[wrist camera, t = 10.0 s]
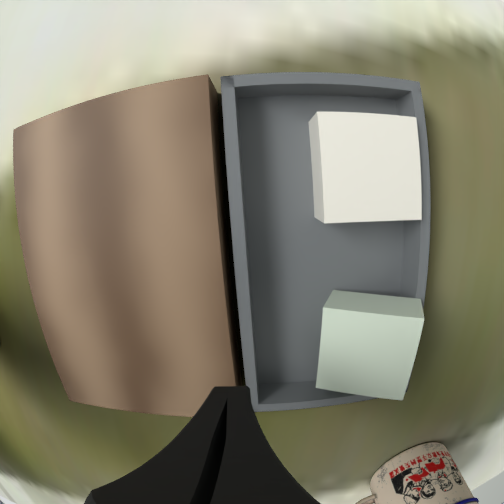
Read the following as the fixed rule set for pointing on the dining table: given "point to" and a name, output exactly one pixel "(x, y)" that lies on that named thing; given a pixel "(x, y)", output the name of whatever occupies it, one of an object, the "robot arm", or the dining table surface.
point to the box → (307, 226)
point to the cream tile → (365, 167)
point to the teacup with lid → (420, 479)
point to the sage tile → (368, 343)
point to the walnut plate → (131, 246)
